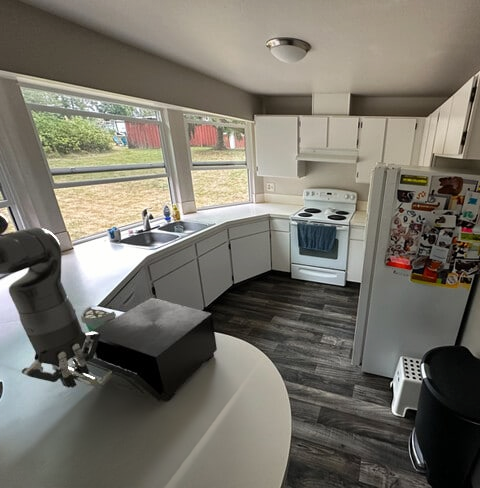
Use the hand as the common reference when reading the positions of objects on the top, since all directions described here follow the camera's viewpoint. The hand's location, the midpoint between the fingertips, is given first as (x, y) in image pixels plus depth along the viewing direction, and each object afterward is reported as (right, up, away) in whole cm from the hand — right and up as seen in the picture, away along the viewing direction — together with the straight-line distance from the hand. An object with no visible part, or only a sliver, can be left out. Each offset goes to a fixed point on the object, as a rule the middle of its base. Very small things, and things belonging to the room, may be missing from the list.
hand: (77, 381), depth 59 cm
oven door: (+2, -9, +10) cm, 14 cm away
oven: (+6, -7, +23) cm, 25 cm away
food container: (-26, -2, +35) cm, 43 cm away
